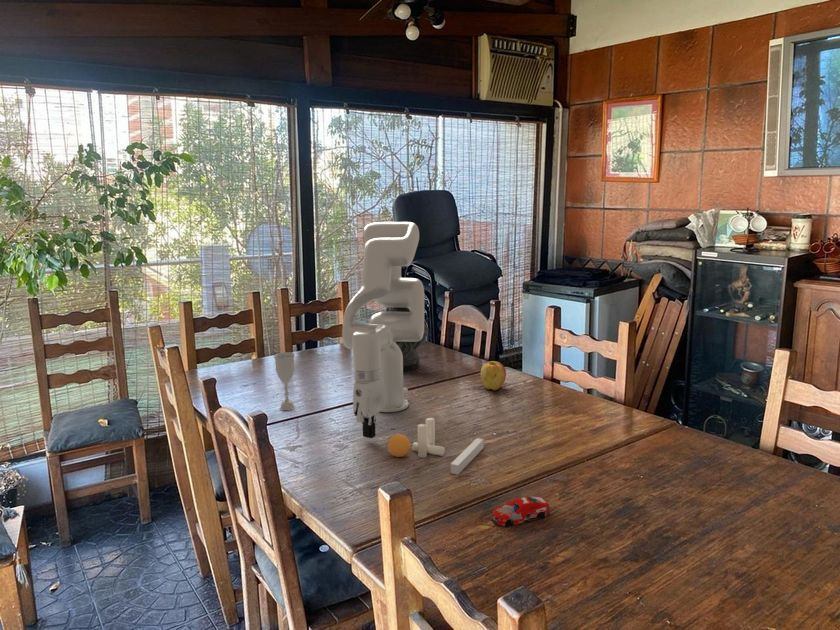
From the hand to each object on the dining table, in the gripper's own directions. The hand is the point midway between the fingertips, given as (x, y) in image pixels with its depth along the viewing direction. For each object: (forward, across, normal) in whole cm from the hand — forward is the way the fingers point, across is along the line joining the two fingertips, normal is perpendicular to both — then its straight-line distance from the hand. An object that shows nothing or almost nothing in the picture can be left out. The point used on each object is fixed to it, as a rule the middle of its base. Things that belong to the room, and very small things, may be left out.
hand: (369, 436), depth 176 cm
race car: (+2, -22, -51) cm, 56 cm away
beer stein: (+2, +72, +27) cm, 77 cm away
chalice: (+2, +13, +39) cm, 41 cm away
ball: (-2, -5, -12) cm, 14 cm away
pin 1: (+2, -2, -18) cm, 18 cm away
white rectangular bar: (+2, 0, -30) cm, 30 cm away
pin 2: (+2, +2, -18) cm, 18 cm away
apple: (+2, +59, -16) cm, 61 cm away
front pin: (0, 0, -14) cm, 14 cm away
